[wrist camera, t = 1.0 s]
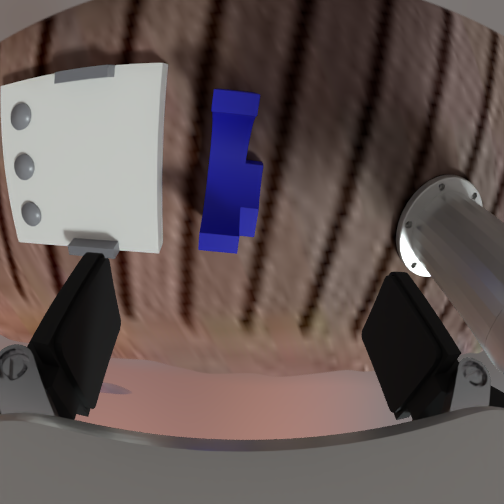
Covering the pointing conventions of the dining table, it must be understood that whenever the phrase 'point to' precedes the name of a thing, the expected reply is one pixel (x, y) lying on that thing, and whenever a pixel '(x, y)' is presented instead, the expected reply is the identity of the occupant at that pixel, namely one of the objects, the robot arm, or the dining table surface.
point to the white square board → (87, 157)
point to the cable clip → (231, 173)
